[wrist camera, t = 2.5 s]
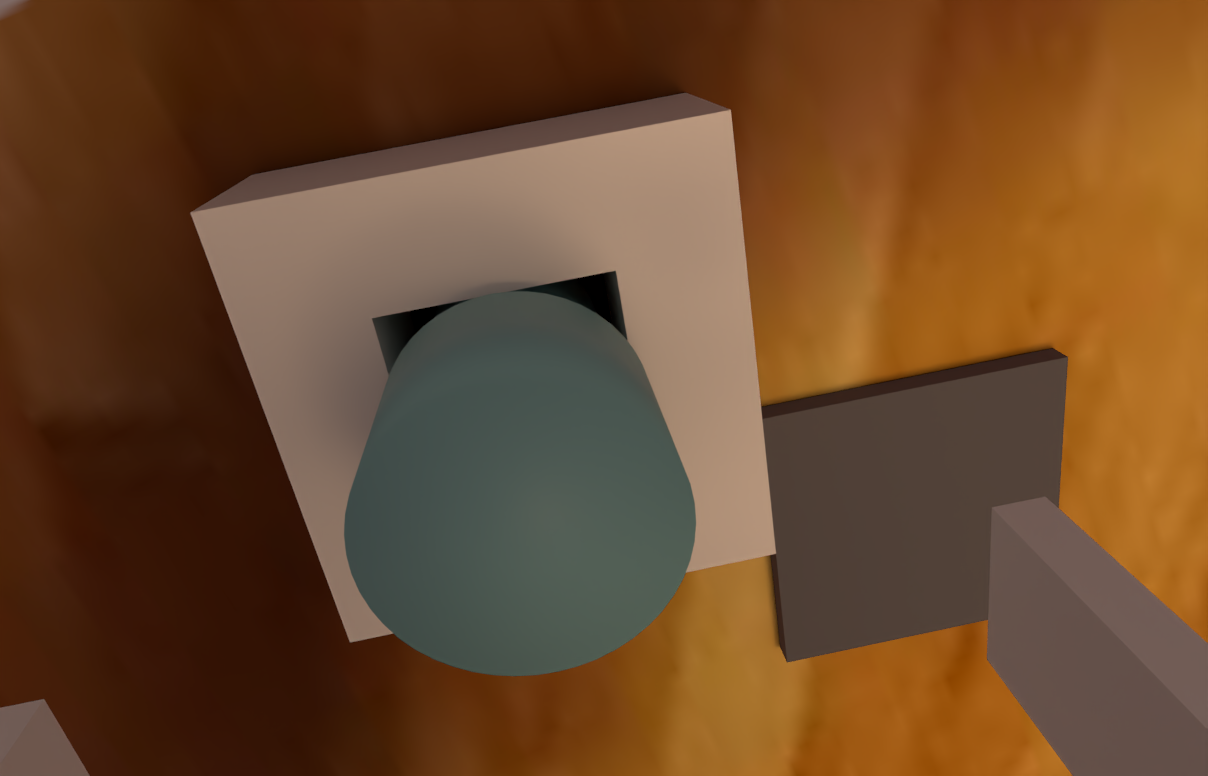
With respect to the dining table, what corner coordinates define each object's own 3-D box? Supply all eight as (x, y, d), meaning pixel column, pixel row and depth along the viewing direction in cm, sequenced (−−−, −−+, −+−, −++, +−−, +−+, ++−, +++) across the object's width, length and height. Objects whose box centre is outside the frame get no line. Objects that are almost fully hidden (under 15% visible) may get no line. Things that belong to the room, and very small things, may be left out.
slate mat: (780, 647, 32) (787, 662, 31) (755, 408, 27) (762, 419, 27) (1039, 592, 32) (1052, 606, 31) (1052, 348, 28) (1067, 356, 27)
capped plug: (438, 449, 27) (397, 705, 17) (383, 254, 24) (296, 418, 14) (636, 409, 27) (714, 638, 17) (603, 211, 24) (671, 343, 14)
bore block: (375, 540, 28) (350, 642, 23) (252, 174, 23) (190, 212, 18) (731, 467, 28) (775, 554, 24) (686, 92, 23) (731, 109, 19)
